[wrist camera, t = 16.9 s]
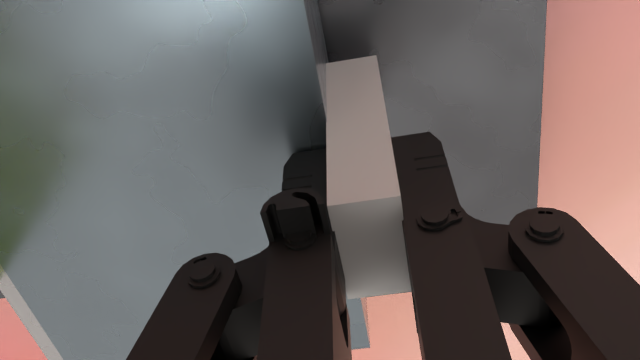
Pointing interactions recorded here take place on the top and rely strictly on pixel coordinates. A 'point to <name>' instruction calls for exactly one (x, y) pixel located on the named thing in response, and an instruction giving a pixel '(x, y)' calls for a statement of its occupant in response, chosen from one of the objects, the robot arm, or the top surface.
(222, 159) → the free jaw
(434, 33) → the vise
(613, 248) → the top surface
